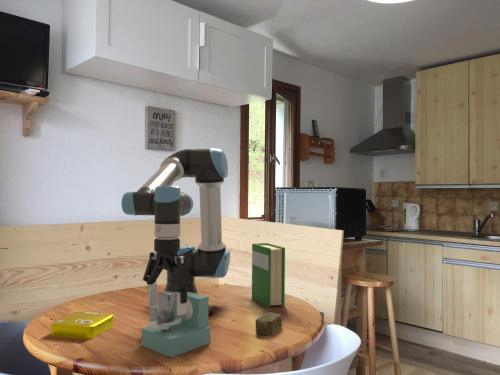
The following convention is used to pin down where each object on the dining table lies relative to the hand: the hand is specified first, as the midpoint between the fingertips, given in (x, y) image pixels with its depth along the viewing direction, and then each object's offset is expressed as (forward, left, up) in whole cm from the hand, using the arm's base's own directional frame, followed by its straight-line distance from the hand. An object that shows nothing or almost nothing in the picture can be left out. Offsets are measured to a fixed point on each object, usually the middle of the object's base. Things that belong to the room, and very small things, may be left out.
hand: (166, 309), depth 123 cm
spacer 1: (-7, -14, -11) cm, 19 cm away
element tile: (+9, -33, -12) cm, 36 cm away
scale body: (-4, 0, -11) cm, 12 cm away
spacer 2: (0, 0, -3) cm, 3 cm away
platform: (0, 0, -6) cm, 6 cm away
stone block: (-33, +13, -11) cm, 37 cm away
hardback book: (-62, -11, -11) cm, 64 cm away
